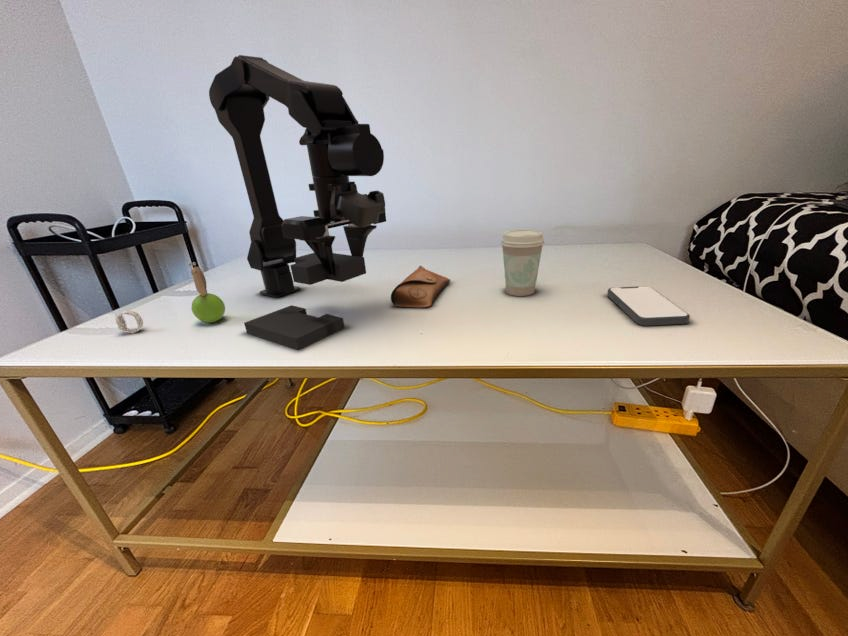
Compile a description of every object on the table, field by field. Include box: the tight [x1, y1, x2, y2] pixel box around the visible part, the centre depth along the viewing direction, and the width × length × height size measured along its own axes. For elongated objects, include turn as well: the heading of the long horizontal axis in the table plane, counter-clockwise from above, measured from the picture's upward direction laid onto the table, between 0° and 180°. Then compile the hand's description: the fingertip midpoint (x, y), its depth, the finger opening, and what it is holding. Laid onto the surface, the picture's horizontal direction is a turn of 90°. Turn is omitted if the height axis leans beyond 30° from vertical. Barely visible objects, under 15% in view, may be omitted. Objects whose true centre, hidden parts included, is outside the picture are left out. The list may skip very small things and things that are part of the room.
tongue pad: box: [289, 252, 367, 286], centre depth 74 cm, size 12×10×3 cm
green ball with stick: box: [187, 261, 226, 323], centre depth 75 cm, size 5×6×12 cm
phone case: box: [606, 285, 691, 327], centre depth 74 cm, size 9×2×16 cm
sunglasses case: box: [390, 265, 451, 309], centre depth 87 cm, size 18×7×7 cm
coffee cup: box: [500, 229, 545, 297], centre depth 83 cm, size 9×9×12 cm
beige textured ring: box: [114, 309, 144, 334], centre depth 74 cm, size 4×2×4 cm, turn 104°
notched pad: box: [243, 305, 345, 351], centre depth 72 cm, size 14×10×2 cm
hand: (345, 270), depth 74 cm, fingers closed on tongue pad, 6 cm apart
